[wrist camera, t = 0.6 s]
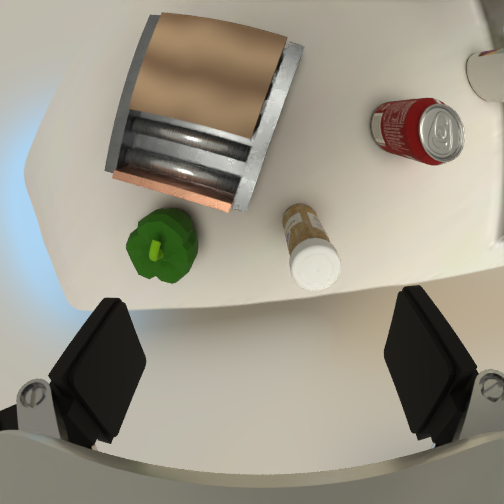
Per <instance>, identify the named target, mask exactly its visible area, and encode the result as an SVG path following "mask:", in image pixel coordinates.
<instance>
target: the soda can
mask: <svg viewBox="0 0 504 504" xmlns="http://www.w3.org/2000/svg"><path fill="white" fill-rule="evenodd" d="M371 130H372V134H373V137H374V139H375V141H376V142H377V144H378V145H379V146H380V147H381V148H382V149H383V150H385V151H387V152H389V153H392V154H396V155H399V156H403V157H406V158H409V159H413V160H416V161H419V162H422V163H425V164H428V165H442V164H444V163H446V162H449V161H452V160H454V159H455V158H456V157H458V155H459V154H460V153H461V151H462V149H463V146H464V141H465V131H464V126H463V123H462V121H461V119H460V117H459V115H458V114H457V113H456V112H455V111H454V110H453V109H452V108H451V107H449V106H447V105H445V104H444V103H443V102H441V101H439V100H437V99H434V98H420V99H410V100H401V101H393V102H387V103H384V104H382V105H380V106H379V107H378V108H377V109H376V110H375V112H374V114H373V116H372V120H371Z"/></svg>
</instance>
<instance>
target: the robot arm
mask: <svg viewBox="0 0 504 504" xmlns="http://www.w3.org/2000/svg"><path fill="white" fill-rule="evenodd" d="M384 359H385V361H386V364H387V367H388V369H389V372H390V374H391V377H392V379H393V382H394V385H395V387H396V390H397V393H398V396H399V398H400V401H401V404H402V407H403V410H404V412H405V415H406V418H407V421H408V424H409V427H410V430H411V432H412V433H416V436H417V439H418V440H422V439H425V438H428V437H431V438H432V441H433V445H432V447H431V449H429V450H426V451H422V452H419V453H415V454H412V455H408V456H404V457H400V458H396V459H391V460H387V461H383V462H378V463H373V464H368V465H363V466H357V467H351V468H345V469H338V470H330V471H321V472H310V473H298V474H275V475H245V474H224V473H210V472H200V471H191V470H184V469H176V468H170V467H164V466H157V465H152V464H147V463H142V462H138V461H133V460H129V459H125V458H120V457H117V456H113V455H109V454H106V453H102V452H99V451H98V450H97V448H96V445H95V442H96V440H97V439H98V440H99V441H103V442H106V443H110V444H111V442H112V440H113V437H116V436H117V435H118V433H119V430H120V428H121V425H122V423H123V420H124V418H125V415H126V412H127V410H128V407H129V405H130V402H131V400H132V397H133V395H134V392H135V390H136V388H137V385H138V383H139V380H140V378H141V376H142V373H143V371H144V369H145V366H146V357H145V354H144V352H143V349H142V347H141V344H140V342H139V339H138V336H137V334H136V331H135V329H134V326H133V323H132V320H131V318H130V315H129V312H128V309H127V306H126V304H125V303H124V302H122V301H121V299H119V298H104V299H103V300H102V301H101V302H100V303H99V305H98V306H97V307H96V309H95V310H94V311H93V313H92V314H91V315H90V317H89V318H88V319H87V321H86V322H85V323H84V325H83V326H82V327H81V329H80V330H79V331H78V333H77V334H76V336H75V337H74V339H73V340H72V341H71V343H70V344H69V345H68V347H67V348H66V350H65V351H64V352H63V354H62V356H61V357H60V358H59V360H58V361H57V363H56V364H55V366H54V367H53V369H52V370H51V372H50V373H49V375H48V376H49V378H50V379H51V382H50V384H49V383H48V382H47V381H45V380H43V379H34V380H31V381H29V382H27V383H26V384H24V385H23V386H22V388H21V389H20V390H19V392H18V394H17V400H16V401H17V404H16V405H13V406H11V407H9V408H6V409H4V410H2V411H0V504H504V374H503V373H501V372H500V371H497V370H493V369H488V370H484V371H482V372H480V373H478V372H477V370H476V368H477V365H476V364H475V362H474V361H473V359H472V357H471V356H470V354H469V353H468V351H467V350H466V348H465V347H464V345H463V344H462V342H461V341H460V339H459V338H458V336H457V335H456V333H455V332H454V330H453V329H452V327H451V326H450V325H449V323H448V322H447V320H446V319H445V317H444V316H443V315H442V314H441V312H440V311H439V309H438V308H437V307H436V305H435V304H434V303H433V301H432V300H431V299H430V297H429V296H428V295H427V293H426V292H425V291H424V289H423V288H422V287H421V286H420V285H416V286H406V287H404V288H403V289H402V291H400V292H399V293H398V296H397V300H396V305H395V310H394V314H393V318H392V322H391V326H390V330H389V334H388V338H387V341H386V345H385V349H384Z"/></svg>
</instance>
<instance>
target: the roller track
mask: <svg viewBox="0 0 504 504" xmlns="http://www.w3.org/2000/svg"><path fill="white" fill-rule="evenodd" d="M160 16H161V15H150V16H149V18H148V21H147V23H146V26H145V28H144V31H143V33H142V36H141V38H140V41H139V43H138V46H137V49H136V52H135V54H134V57H133V60H132V63H131V66H130V69H129V72H128V75H127V79H126V82H125V85H124V89H123V92H122V95H121V99H120V103H119V106H118V110H117V114H116V118H115V122H114V127H113V131H112V135H111V140H110V145H109V150H108V155H107V160H106V166H105V171H107V172H111V173H113V178H114V179H117V180H121V181H124V182H128V183H132V184H135V185H139V186H142V187H145V188H149V189H152V190H156V191H159V192H163V193H166V194H169V195H173V196H176V197H179V198H183V199H186V200H189V201H193V202H196V203H199V204H203V205H206V206H209V207H212V208H216V209H219V210H222V211H225V212H228V213H229V211H230V208H231V206H232V203H233V201H234V200H235V201H234V204H233V207H232V208H233V209H236V210H240V211H243V212H246V211H247V208H248V205H249V202H250V199H251V196H252V193H253V190H254V187H255V184H256V181H257V178H258V175H259V172H260V169H261V167H262V164H263V161H264V158H265V155H266V152H267V149H268V146H269V143H270V141H271V138H272V135H273V132H274V129H275V126H276V124H277V121H278V118H279V115H280V112H281V109H282V107H283V104H284V101H285V98H286V95H287V93H288V90H289V87H290V84H291V82H292V79H293V76H294V73H295V71H296V68H297V65H298V62H299V60H300V57H301V54H302V52H303V49H304V46H302V45H299V44H296V43H293V42H290V43H289V46H288V48H287V49H285V48H284V49H283V52H282V54H281V57H280V60H279V62H278V65H277V68H276V70H275V73H274V76H273V79H272V81H271V84H270V87H269V90H268V93H267V95H266V98H265V101H264V104H263V107H262V109H261V112H260V115H259V118H258V121H257V124H256V127H255V130H254V133H253V136H252V138H251V139H248V138H244V137H241V136H238V135H235V134H231V133H228V132H224V131H221V130H217V129H214V128H210V127H206V126H202V125H199V124H195V123H191V122H187V121H183V120H179V119H174V118H170V117H166V116H161V115H157V114H152V113H147V112H142V111H137V110H132V109H128V108H129V105H130V101H131V98H132V94H133V91H134V87H135V84H136V81H137V78H138V75H139V71H140V68H141V65H142V63H143V60H144V57H145V54H146V51H147V48H148V46H149V43H150V40H151V38H152V35H153V33H154V30H155V28H156V25H157V23H158V21H159V18H160Z"/></svg>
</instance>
